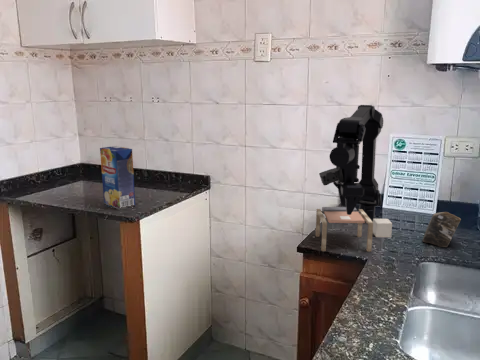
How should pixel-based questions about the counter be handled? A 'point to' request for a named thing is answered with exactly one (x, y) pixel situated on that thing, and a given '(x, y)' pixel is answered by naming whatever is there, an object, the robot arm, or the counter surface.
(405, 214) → the counter surface
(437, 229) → the rock
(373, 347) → the counter surface
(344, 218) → the trapdoor
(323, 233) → the frame
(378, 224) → the limestone block
